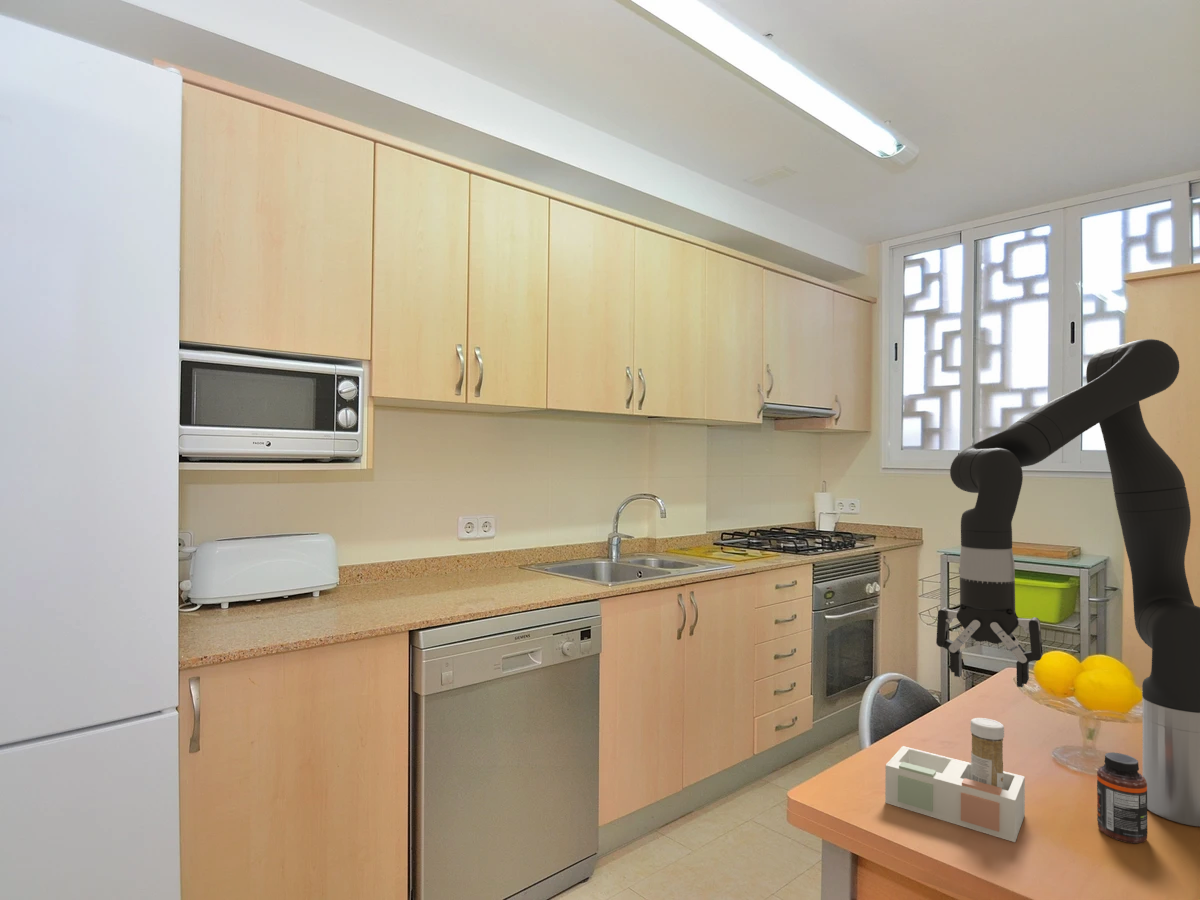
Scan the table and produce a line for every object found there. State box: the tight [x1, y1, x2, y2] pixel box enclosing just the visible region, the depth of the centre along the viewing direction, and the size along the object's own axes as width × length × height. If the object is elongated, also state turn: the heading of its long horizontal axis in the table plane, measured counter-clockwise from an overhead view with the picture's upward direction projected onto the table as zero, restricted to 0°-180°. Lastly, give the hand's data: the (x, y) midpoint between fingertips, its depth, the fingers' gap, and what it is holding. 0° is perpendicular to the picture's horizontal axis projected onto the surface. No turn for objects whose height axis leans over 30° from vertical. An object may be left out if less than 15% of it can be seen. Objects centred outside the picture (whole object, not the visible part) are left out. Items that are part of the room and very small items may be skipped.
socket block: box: [884, 745, 1026, 843], centre depth 108 cm, size 18×10×6 cm, turn 52°
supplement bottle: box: [1096, 751, 1148, 844], centre depth 102 cm, size 6×6×11 cm
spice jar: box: [970, 717, 1005, 789], centre depth 107 cm, size 5×5×13 cm
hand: (988, 680), depth 107 cm, fingers open, 8 cm apart
